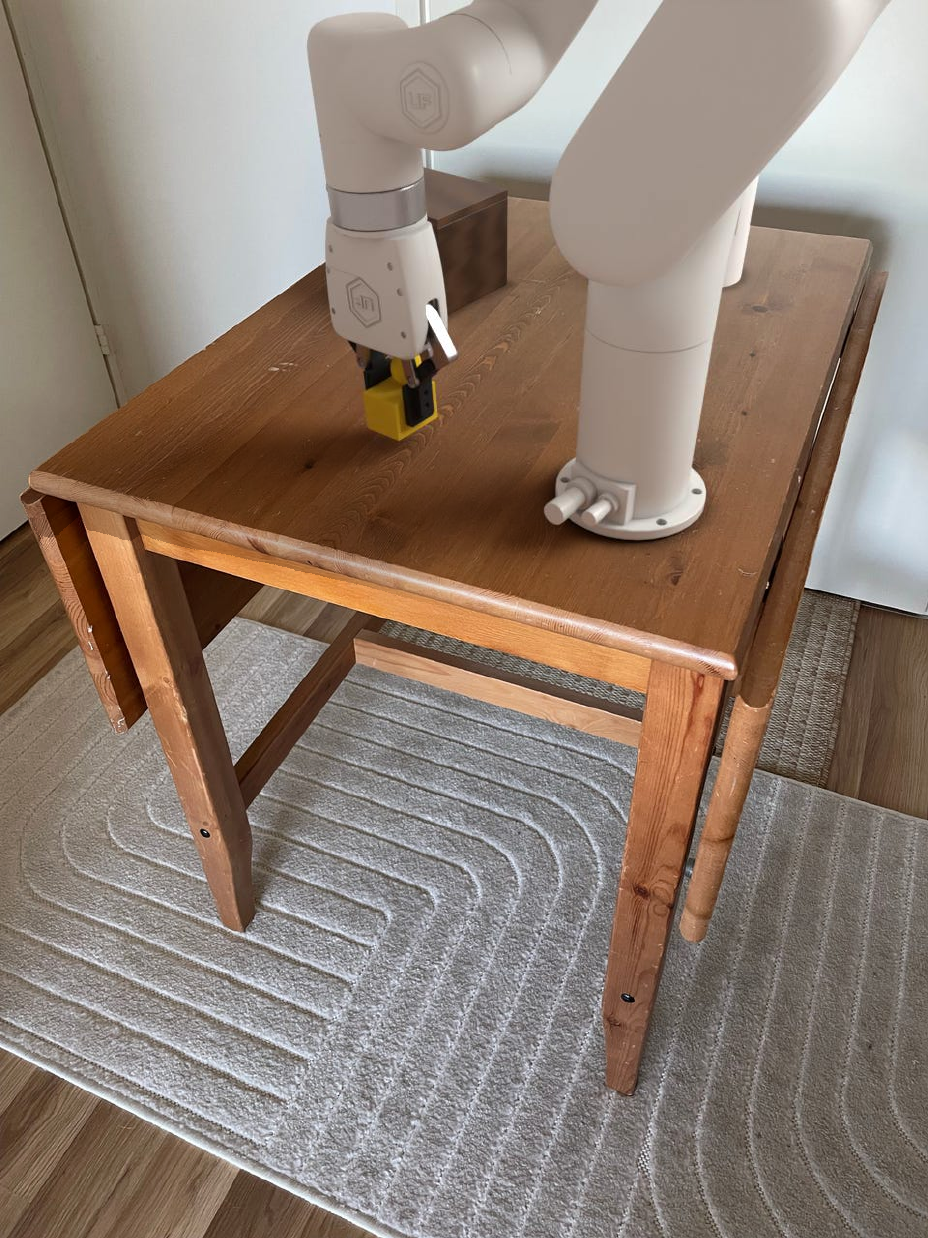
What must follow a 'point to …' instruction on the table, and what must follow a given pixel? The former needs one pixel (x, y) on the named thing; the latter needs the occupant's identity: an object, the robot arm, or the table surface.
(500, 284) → the shelf
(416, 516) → the table surface
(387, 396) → the duck
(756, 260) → the table surface
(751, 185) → the cylinder with rectangular tab
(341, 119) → the robot arm
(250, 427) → the table surface
